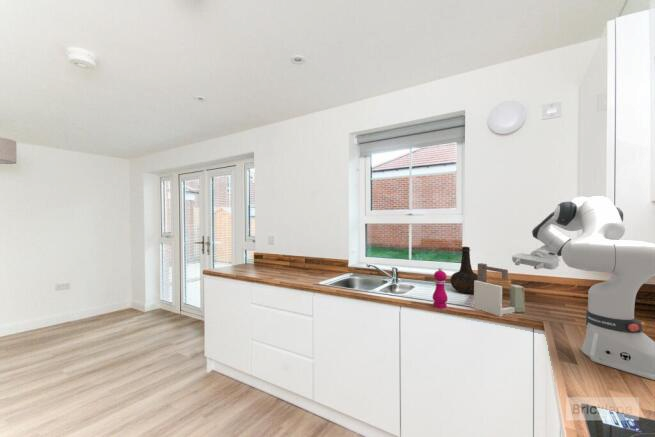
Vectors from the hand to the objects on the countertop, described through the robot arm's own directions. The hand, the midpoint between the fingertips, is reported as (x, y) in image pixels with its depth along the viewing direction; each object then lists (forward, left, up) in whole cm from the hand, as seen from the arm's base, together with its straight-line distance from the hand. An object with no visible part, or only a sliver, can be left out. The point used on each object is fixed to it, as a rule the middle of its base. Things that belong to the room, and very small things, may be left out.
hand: (525, 265), depth 154 cm
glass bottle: (+33, +4, -21) cm, 40 cm away
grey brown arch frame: (+4, +21, -21) cm, 30 cm away
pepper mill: (+17, +42, -21) cm, 50 cm away
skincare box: (-3, +11, -21) cm, 24 cm away
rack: (+1, +22, -21) cm, 31 cm away
